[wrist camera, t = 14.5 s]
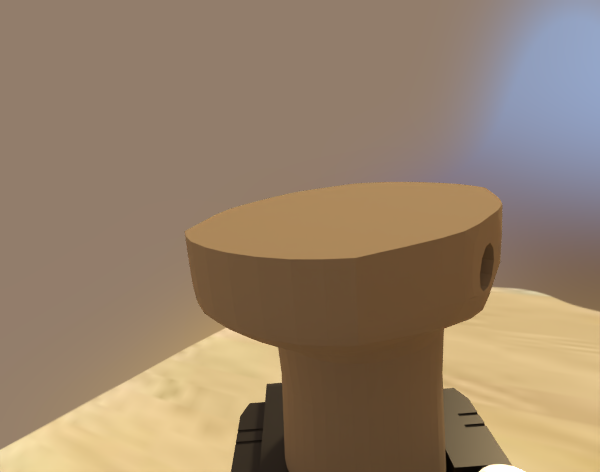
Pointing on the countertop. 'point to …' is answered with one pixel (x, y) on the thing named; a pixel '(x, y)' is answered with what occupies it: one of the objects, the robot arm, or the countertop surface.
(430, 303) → the handle
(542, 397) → the countertop surface
